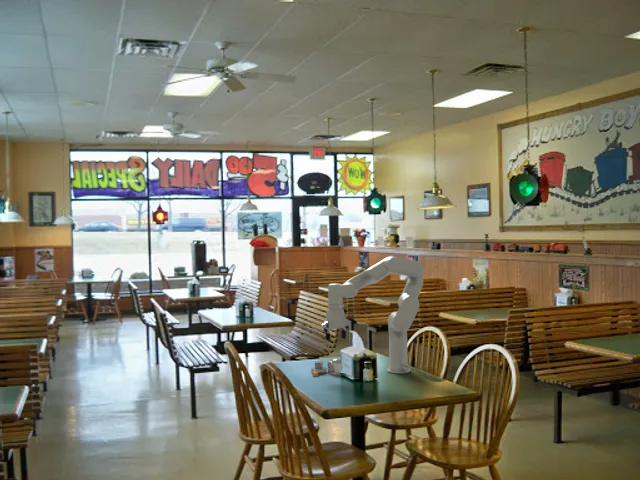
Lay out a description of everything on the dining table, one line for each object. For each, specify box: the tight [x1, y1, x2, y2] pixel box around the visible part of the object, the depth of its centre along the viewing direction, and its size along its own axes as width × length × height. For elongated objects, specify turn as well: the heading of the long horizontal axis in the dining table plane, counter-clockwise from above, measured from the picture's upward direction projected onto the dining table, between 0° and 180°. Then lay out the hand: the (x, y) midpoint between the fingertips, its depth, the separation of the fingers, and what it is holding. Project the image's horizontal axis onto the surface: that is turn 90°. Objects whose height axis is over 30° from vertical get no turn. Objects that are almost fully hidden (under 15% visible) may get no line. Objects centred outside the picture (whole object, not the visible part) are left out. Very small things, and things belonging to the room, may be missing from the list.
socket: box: [327, 357, 343, 376], centre depth 330 cm, size 7×7×7 cm
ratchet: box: [310, 360, 328, 377], centre depth 330 cm, size 13×8×6 cm, turn 166°
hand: (335, 339), depth 329 cm, fingers open, 9 cm apart
